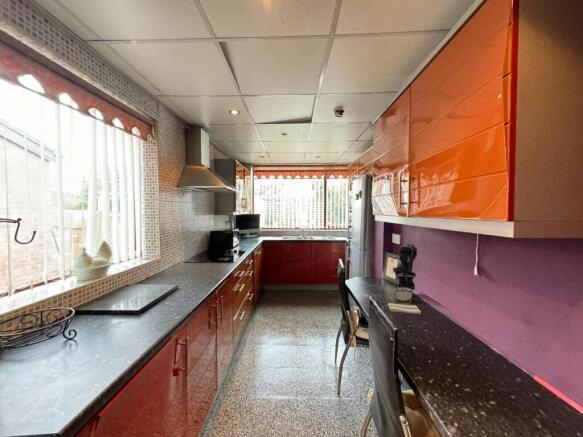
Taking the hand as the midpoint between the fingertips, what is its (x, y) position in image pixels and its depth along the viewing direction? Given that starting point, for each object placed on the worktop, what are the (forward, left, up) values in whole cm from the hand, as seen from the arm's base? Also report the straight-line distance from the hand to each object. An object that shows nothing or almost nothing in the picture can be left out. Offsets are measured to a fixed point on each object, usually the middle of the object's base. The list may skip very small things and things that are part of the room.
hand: (403, 286), depth 184 cm
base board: (+12, -2, -12) cm, 17 cm away
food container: (-2, 0, -13) cm, 13 cm away
